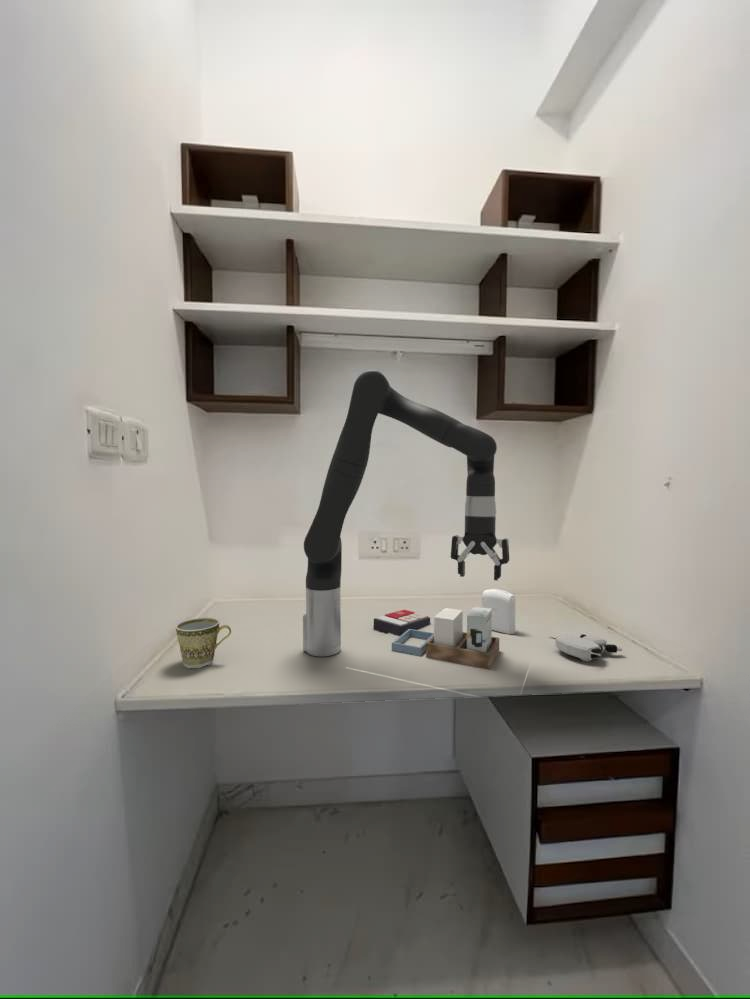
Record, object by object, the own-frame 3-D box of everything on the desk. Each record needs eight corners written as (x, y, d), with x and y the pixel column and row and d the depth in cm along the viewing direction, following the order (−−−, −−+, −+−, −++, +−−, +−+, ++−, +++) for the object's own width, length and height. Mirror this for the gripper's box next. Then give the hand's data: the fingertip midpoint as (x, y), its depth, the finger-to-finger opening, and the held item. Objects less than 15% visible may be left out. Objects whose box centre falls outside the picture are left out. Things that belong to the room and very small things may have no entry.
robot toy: (582, 645, 120) (546, 651, 113) (583, 629, 120) (547, 634, 113) (625, 661, 109) (588, 668, 102) (626, 643, 109) (589, 650, 102)
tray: (391, 652, 112) (391, 642, 112) (408, 637, 123) (408, 628, 123) (420, 657, 109) (420, 648, 108) (436, 642, 119) (436, 633, 119)
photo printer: (479, 627, 131) (479, 588, 131) (487, 624, 134) (487, 585, 134) (510, 636, 124) (510, 594, 124) (517, 632, 127) (517, 591, 127)
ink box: (473, 649, 113) (473, 605, 112) (492, 652, 111) (492, 607, 110) (465, 661, 105) (466, 614, 105) (485, 665, 103) (486, 617, 102)
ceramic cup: (169, 672, 100) (168, 631, 100) (185, 655, 110) (184, 617, 110) (225, 671, 101) (225, 629, 101) (236, 654, 111) (236, 616, 111)
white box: (434, 655, 109) (434, 617, 108) (444, 643, 117) (444, 607, 116) (453, 659, 106) (453, 619, 106) (462, 646, 114) (462, 610, 114)
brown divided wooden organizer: (426, 658, 108) (426, 643, 108) (440, 642, 119) (440, 628, 119) (489, 671, 101) (489, 654, 101) (499, 652, 112) (499, 637, 112)
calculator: (431, 615, 134) (400, 624, 123) (430, 628, 134) (400, 638, 123) (403, 608, 141) (373, 616, 130) (403, 621, 141) (372, 630, 130)
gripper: (448, 514, 107) (447, 578, 107) (506, 516, 100) (505, 584, 101) (456, 512, 113) (455, 572, 114) (511, 514, 107) (510, 578, 107)
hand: (479, 578), depth 107 cm, fingers open, 8 cm apart
